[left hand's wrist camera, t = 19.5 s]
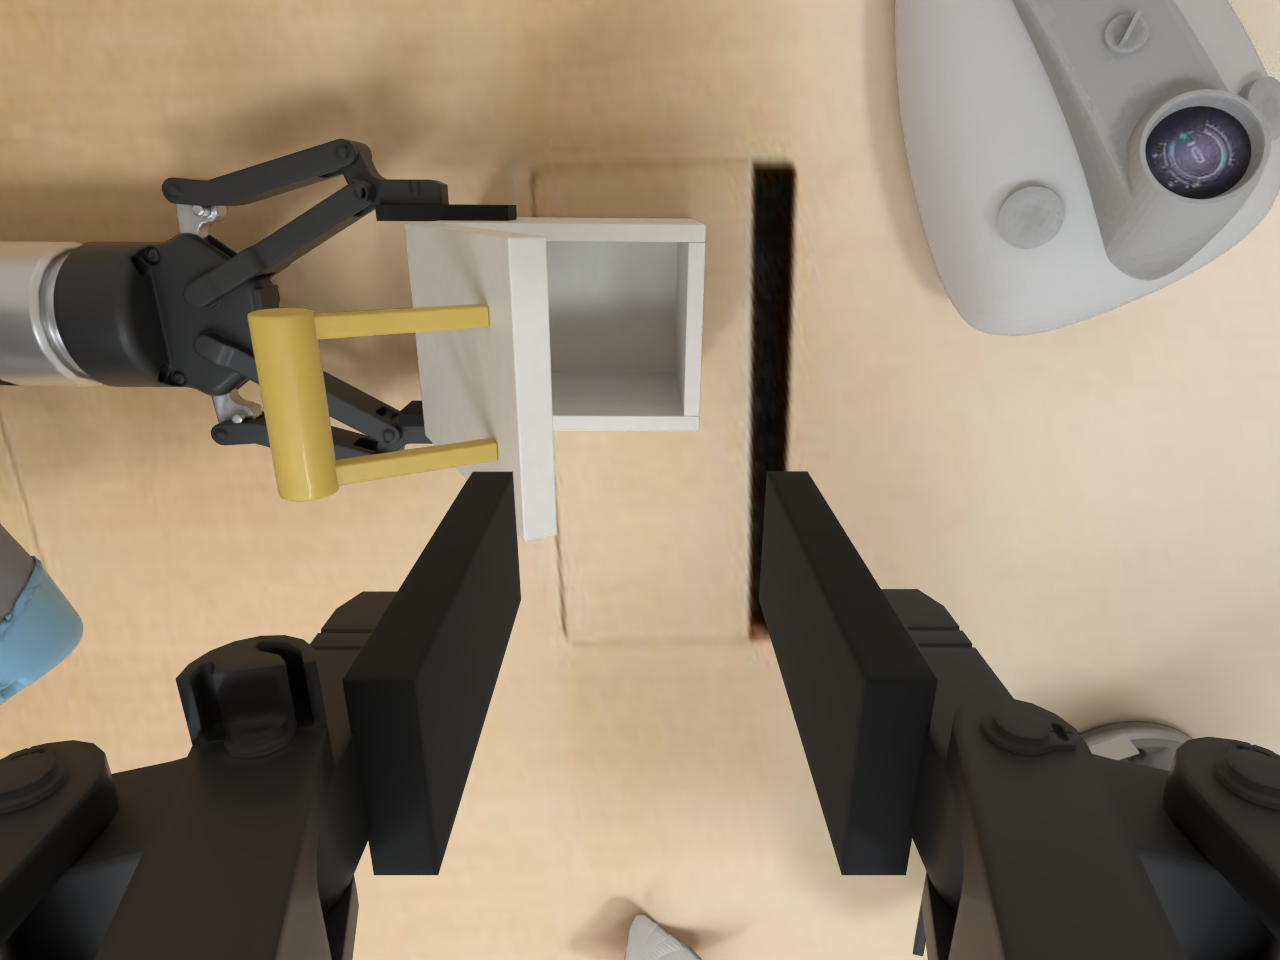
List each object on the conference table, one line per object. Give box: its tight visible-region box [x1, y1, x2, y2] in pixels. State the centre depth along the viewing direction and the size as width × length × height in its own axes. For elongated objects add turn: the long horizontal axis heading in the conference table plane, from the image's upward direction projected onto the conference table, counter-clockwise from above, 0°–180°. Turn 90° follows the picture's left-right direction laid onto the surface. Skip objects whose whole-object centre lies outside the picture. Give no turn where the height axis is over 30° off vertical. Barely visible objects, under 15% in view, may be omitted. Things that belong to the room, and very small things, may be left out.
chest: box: [423, 217, 706, 431], centre depth 41 cm, size 13×10×11 cm
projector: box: [895, 0, 1280, 336], centre depth 36 cm, size 22×23×15 cm
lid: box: [247, 223, 557, 542], centre depth 28 cm, size 14×10×8 cm
